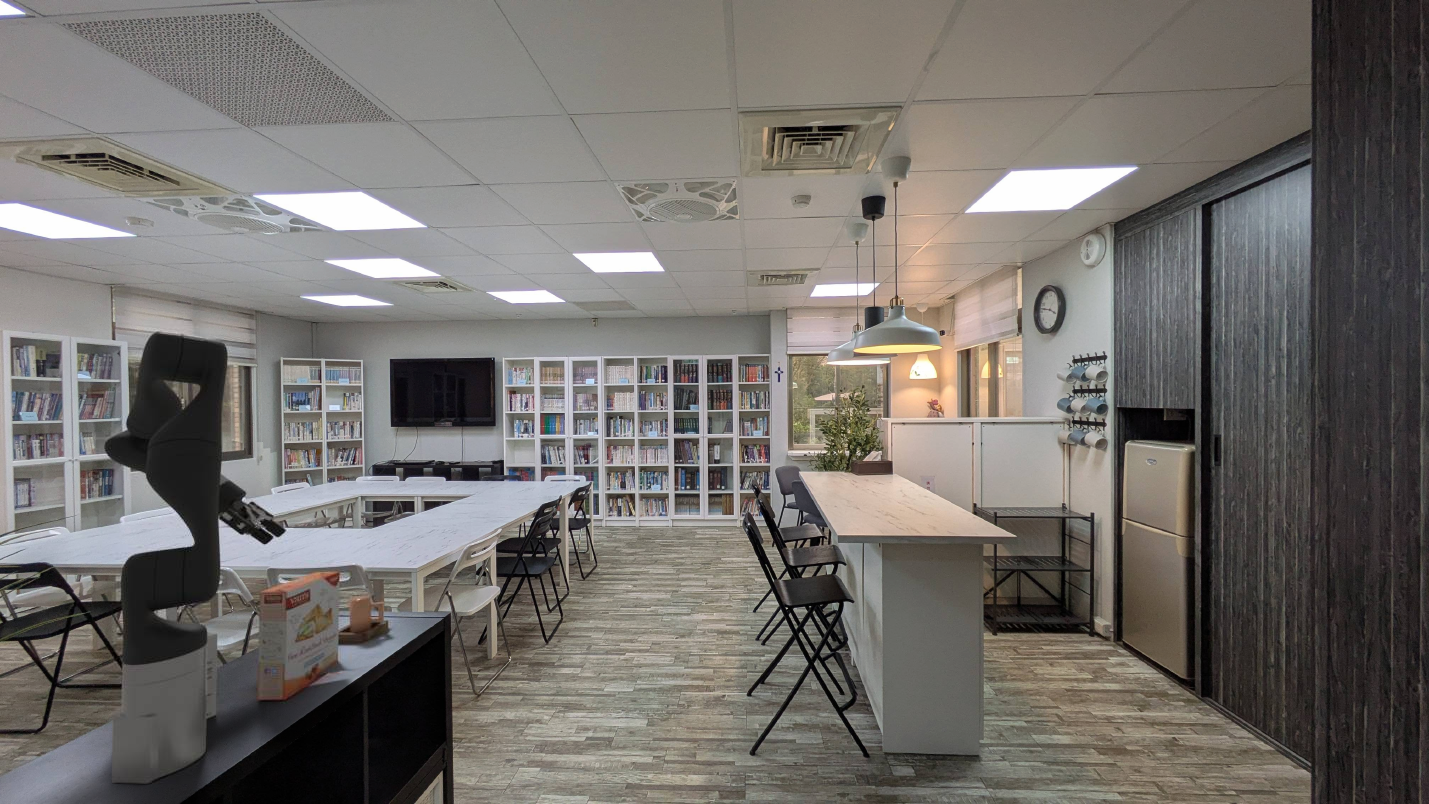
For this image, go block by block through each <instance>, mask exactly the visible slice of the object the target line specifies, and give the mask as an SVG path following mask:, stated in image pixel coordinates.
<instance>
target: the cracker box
mask: <svg viewBox="0 0 1429 804" xmlns="http://www.w3.org/2000/svg"><path fill="white" fill-rule="evenodd" d="M340 573H341V572H339V571H316V572H312V573H310V574H307V575H305V576H302V577H298V578H296V579H292V580H291V581H287V582H285V583H281V584H277V585H276V586H272V587H270V588H268V589H265V590H262V591H260V592H259V611H258V612H259V613H258V615H259V617H258V620H259V621H258V656H257V657H258V658H257V659H258V660H257V662H258V663H257V664H258V665H257V698H256V699H257V701H285V700H287V699H289V698H290V697H292V696H293V695H295V694H297V693H298V692H300V691H302V690H303V689H305V688H307V687H309V685H311V684H313V683H314V682H316V681H318V680H320V679H321V678H322V677H324V676H326V675H328V674H329V672H326V673H321V672H322V671H324V670H326V669H327V668H329V667H331V666H332V665H334V664H335V663H337V662H338V661H339V644H338V630H339V629H340V628H339V623H340V620H339V619H340V614H339V613H340V577H341V575H340ZM319 673H321V674H319Z"/></svg>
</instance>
